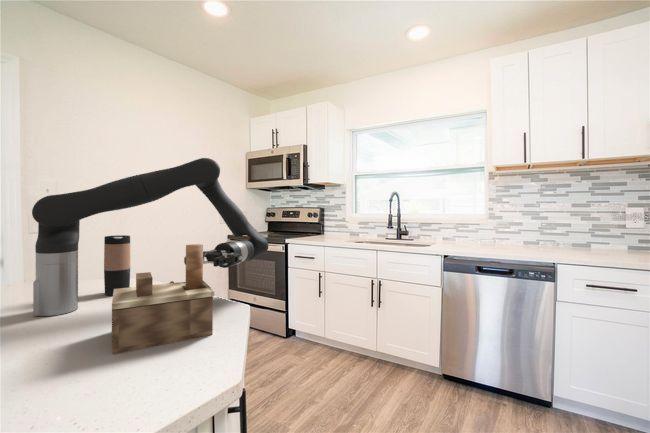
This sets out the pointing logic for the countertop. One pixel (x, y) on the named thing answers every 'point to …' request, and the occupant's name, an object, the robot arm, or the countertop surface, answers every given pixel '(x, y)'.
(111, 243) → the travel mug
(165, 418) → the countertop surface
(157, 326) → the wooden box
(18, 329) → the countertop surface
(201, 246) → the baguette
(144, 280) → the lid
